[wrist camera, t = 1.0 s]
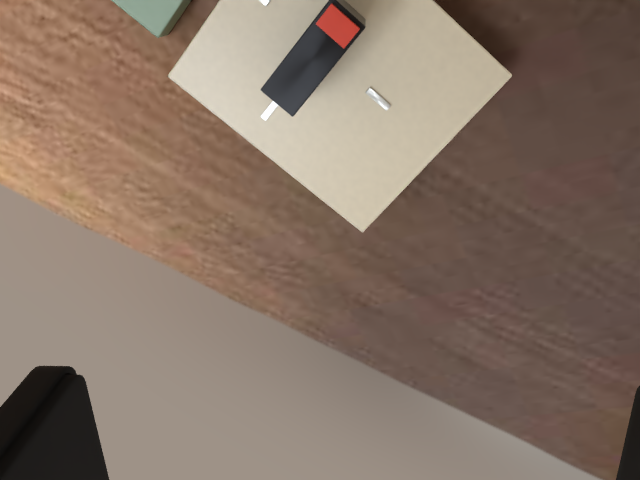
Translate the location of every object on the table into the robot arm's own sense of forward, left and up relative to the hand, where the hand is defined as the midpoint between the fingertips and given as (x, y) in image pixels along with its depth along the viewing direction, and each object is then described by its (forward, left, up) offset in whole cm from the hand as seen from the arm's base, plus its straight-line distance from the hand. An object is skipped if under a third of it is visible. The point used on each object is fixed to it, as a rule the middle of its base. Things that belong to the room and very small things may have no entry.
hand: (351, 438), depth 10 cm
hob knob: (-4, +2, -22) cm, 22 cm away
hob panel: (-3, +1, -24) cm, 25 cm away
